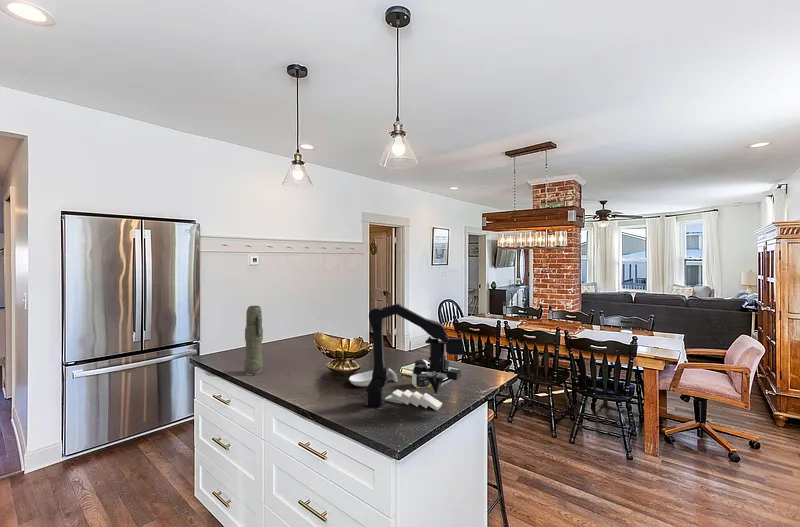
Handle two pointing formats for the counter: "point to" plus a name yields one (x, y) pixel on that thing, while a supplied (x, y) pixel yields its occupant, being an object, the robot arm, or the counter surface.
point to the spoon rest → (366, 378)
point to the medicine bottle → (420, 376)
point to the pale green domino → (392, 399)
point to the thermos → (253, 340)
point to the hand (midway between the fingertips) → (436, 393)
